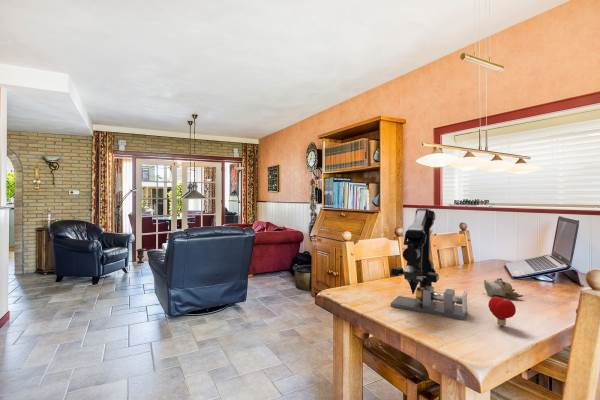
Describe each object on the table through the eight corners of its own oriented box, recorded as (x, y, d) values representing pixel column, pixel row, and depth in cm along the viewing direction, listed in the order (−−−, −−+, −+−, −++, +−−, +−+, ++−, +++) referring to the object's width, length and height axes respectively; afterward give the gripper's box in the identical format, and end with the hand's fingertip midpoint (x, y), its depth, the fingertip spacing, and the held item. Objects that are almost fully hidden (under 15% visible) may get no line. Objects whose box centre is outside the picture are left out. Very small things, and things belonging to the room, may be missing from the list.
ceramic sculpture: (480, 273, 160) (515, 277, 156) (479, 291, 160) (513, 295, 156) (488, 279, 149) (525, 283, 146) (486, 298, 150) (523, 302, 146)
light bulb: (483, 322, 121) (483, 295, 121) (496, 320, 123) (497, 293, 123) (506, 332, 112) (507, 303, 112) (520, 329, 115) (521, 301, 114)
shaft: (419, 298, 140) (419, 285, 140) (463, 305, 131) (463, 291, 131) (416, 302, 136) (416, 288, 136) (461, 309, 127) (461, 295, 126)
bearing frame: (398, 298, 148) (398, 280, 148) (467, 310, 133) (467, 290, 133) (390, 306, 138) (390, 286, 138) (464, 320, 123) (464, 297, 123)
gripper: (387, 257, 137) (385, 294, 137) (434, 264, 127) (432, 304, 127) (395, 253, 146) (393, 288, 147) (439, 259, 136) (437, 296, 136)
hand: (413, 294), depth 139 cm, fingers closed
